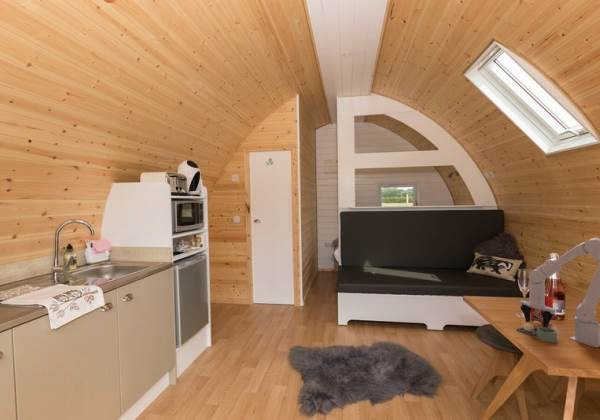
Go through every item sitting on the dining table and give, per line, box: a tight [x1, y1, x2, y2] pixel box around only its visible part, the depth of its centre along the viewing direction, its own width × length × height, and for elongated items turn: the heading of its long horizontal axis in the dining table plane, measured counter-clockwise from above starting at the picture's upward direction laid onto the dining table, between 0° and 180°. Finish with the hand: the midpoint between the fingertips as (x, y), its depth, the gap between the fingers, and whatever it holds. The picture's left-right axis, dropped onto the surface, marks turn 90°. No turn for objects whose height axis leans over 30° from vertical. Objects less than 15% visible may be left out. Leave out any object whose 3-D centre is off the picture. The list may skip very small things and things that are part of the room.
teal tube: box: [536, 326, 558, 343], centre depth 141 cm, size 7×7×4 cm
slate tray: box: [516, 326, 537, 337], centre depth 150 cm, size 7×12×1 cm, turn 114°
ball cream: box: [522, 322, 534, 332], centre depth 149 cm, size 4×4×4 cm
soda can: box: [530, 293, 549, 322], centre depth 165 cm, size 7×7×13 cm
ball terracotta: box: [531, 320, 543, 330], centre depth 152 cm, size 4×4×4 cm
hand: (536, 324), depth 152 cm, fingers open, 7 cm apart
